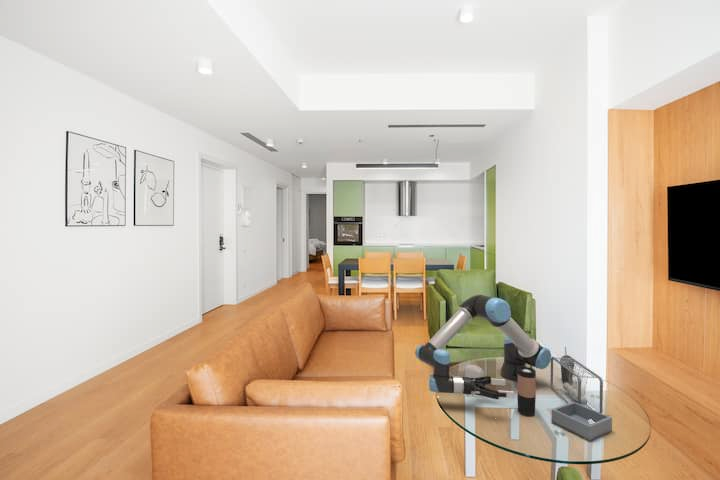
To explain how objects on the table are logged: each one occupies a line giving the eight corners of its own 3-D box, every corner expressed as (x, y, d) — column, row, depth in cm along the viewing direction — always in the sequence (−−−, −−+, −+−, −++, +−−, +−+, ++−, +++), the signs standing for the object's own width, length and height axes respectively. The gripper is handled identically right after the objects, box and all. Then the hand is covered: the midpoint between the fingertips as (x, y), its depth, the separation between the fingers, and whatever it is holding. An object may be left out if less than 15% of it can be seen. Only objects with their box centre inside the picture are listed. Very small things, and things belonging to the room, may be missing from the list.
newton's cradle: (602, 417, 159) (603, 378, 159) (578, 416, 160) (578, 377, 160) (570, 389, 188) (570, 356, 188) (550, 388, 190) (550, 355, 190)
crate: (573, 414, 161) (573, 401, 161) (611, 432, 146) (612, 417, 146) (551, 422, 153) (551, 409, 153) (589, 441, 139) (589, 426, 139)
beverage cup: (569, 387, 191) (569, 350, 191) (556, 382, 197) (557, 346, 197) (577, 384, 194) (577, 348, 194) (564, 379, 201) (564, 345, 201)
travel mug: (513, 409, 166) (514, 366, 166) (529, 408, 166) (529, 366, 166) (522, 417, 158) (523, 373, 158) (538, 416, 159) (539, 372, 159)
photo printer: (463, 386, 191) (464, 363, 190) (468, 384, 193) (468, 362, 193) (480, 393, 182) (480, 369, 182) (485, 391, 185) (485, 367, 185)
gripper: (458, 382, 178) (501, 385, 175) (466, 405, 153) (517, 409, 151) (458, 367, 178) (502, 370, 175) (466, 388, 153) (517, 391, 151)
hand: (509, 388), depth 163 cm, fingers open, 13 cm apart
